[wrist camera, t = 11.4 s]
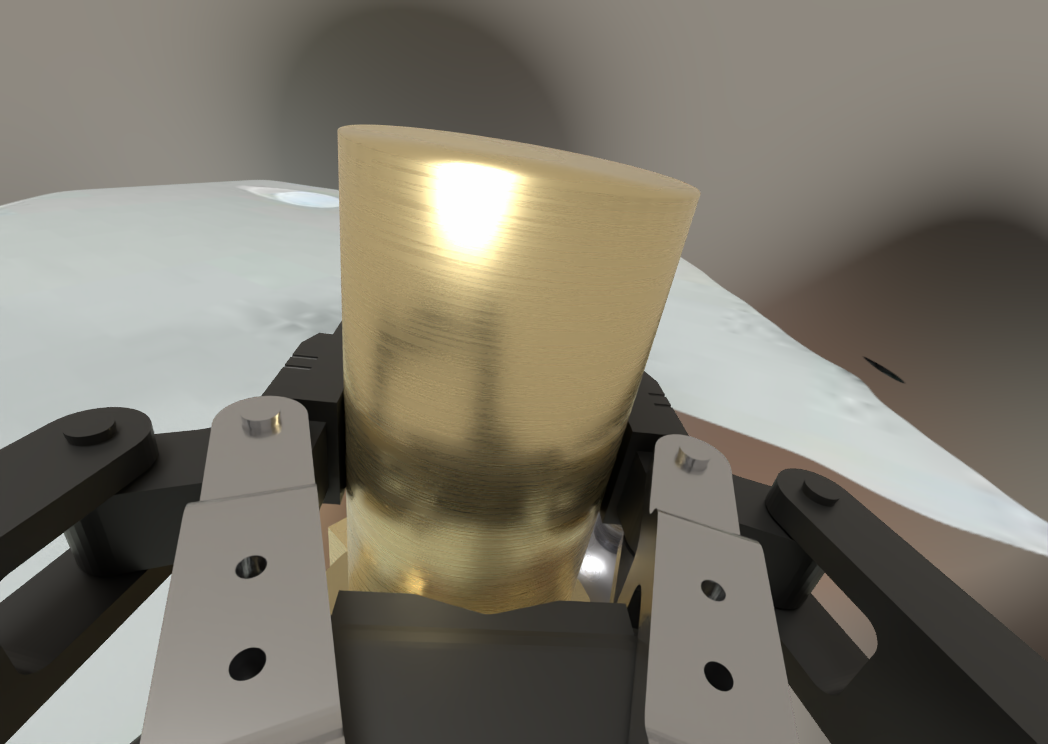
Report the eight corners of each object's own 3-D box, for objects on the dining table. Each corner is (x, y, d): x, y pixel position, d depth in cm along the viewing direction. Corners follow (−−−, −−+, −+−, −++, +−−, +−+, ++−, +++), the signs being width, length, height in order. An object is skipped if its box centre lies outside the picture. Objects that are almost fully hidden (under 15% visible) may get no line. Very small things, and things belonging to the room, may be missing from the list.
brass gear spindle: (149, 948, 8) (-466, 97, 2) (318, 524, 17) (291, 95, 11) (673, 925, 10) (1235, 343, 3) (588, 541, 18) (707, 167, 12)
